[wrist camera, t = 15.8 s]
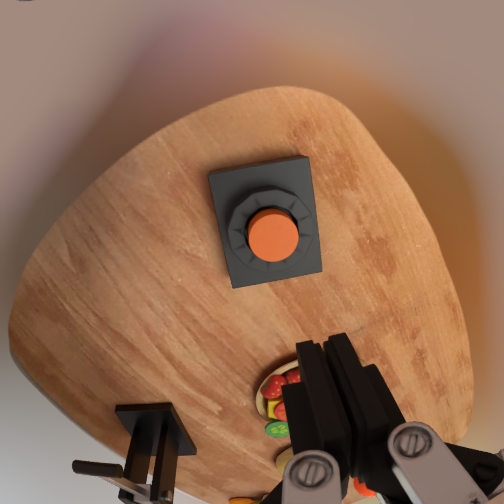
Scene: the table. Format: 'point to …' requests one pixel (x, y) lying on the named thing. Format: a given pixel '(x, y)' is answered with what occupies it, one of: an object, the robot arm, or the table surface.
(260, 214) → the button
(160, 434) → the bracket
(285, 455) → the bread roll
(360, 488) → the clementine
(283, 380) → the toy food set
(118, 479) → the lever
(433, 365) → the table surface
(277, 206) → the control block
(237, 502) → the rattle
